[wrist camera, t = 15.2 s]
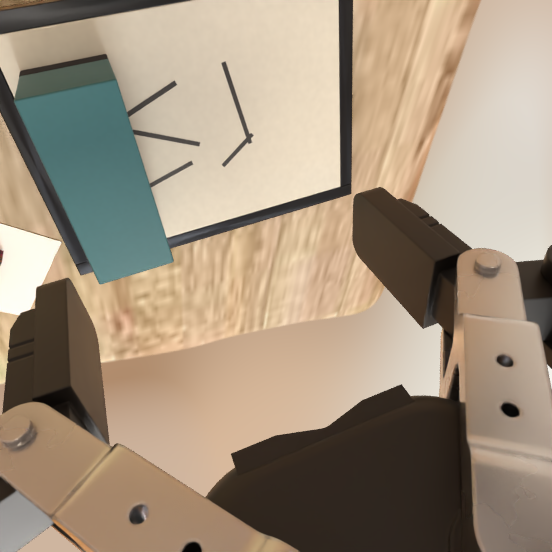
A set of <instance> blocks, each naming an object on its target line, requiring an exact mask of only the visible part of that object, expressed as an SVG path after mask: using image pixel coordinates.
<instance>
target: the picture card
mask: <svg viewBox="0 0 552 552" xmlns="http://www.w3.org/2000/svg"><path fill="white" fill-rule="evenodd" d="M61 243H62V242H60V241H57V240H53V239H50V238H47V237H44V236H40V235H37V234H34V233H30V232H27V231H24V230H20V229H17V228H14V227H11V226H7V225H4V224H1V223H0V311H1V312H6V313H11V314H16V315H20V313H22V312H25V311H28V310H30V308H31V306H32V304H33V302H34V300H35V298H36V288H37V287H38V286H41V285H42V283H43V281H44V279H45V277H46V274H47V272H48V270H49V268H50V266H51V264H52V262H53V260H54V257H55V255H56V253H57V251H58V249H59V247H60V245H61Z"/></svg>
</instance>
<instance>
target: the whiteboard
mask: <svg viewBox="0 0 552 552" xmlns="http://www.w3.org/2000/svg"><path fill="white" fill-rule="evenodd" d="M352 42H353V0H43V1H37V2H31V3H25V4H19V5H13V6H7V7H1V8H0V113H1V115H2V117H3V119H4V121H5V123H6V125H7V127H8V129H9V131H10V133H11V135H12V137H13V139H14V141H15V143H16V145H17V147H18V149H19V151H20V153H21V156H22V158H23V160H24V162H25V164H26V166H27V168H28V170H29V172H30V174H31V176H32V178H33V180H34V182H35V184H36V186H37V188H38V190H39V192H40V194H41V196H42V198H43V200H44V202H45V204H46V206H47V208H48V210H49V212H50V214H51V216H52V218H53V220H54V222H55V224H56V226H57V228H58V231H59V233H60V235H61V237H62V239H63V241H64V243H65V245H66V247H67V249H68V251H69V253H70V255H71V257H72V259H73V261H74V263H75V264H76V267H77V269H78V271H79V273H80V275H84V274H87V273H91V272H93V269H92V267H91V265H90V263H89V261H88V259H87V257H86V254H85V252H84V250H83V248H82V246H81V244H80V242H79V240H78V237H77V235H76V233H75V231H74V229H73V227H72V225H71V223H70V220H69V218H68V216H67V214H66V212H65V210H64V208H63V205H62V203H61V201H60V199H59V197H58V195H57V193H56V191H55V188H54V186H53V184H52V182H51V180H50V178H49V176H48V174H47V171H46V169H45V167H44V165H43V163H42V161H41V159H40V156H39V154H38V152H37V150H36V148H35V146H34V144H33V142H32V139H31V137H30V135H29V133H28V131H27V129H26V127H25V125H24V122H23V120H22V118H21V116H20V114H19V112H18V110H17V107H16V105H15V103H14V98H15V94H16V89H17V85H18V80H19V74H20V71H22V70H27V69H32V68H37V67H42V66H47V65H52V64H57V63H62V62H67V61H72V60H77V59H82V58H87V57H92V56H97V55H102V54H106V55H107V57H108V59H109V62H110V64H111V67H112V69H113V72H114V74H115V77H116V79H117V82H118V85H119V88H120V91H121V95H122V98H123V101H124V104H125V107H126V110H127V114H128V117H129V120H130V123H131V126H132V129H133V133H134V136H135V139H136V142H137V145H138V149H139V152H140V155H141V158H142V161H143V164H144V168H145V171H146V174H147V177H148V180H149V183H150V187H151V190H152V193H153V196H154V199H155V203H156V206H157V209H158V212H159V215H160V218H161V222H162V225H163V228H164V231H165V234H166V237H167V241H168V244H169V247H170V248H174V247H177V246H180V245H184V244H187V243H190V242H194V241H197V240H200V239H204V238H207V237H210V236H213V235H217V234H220V233H223V232H227V231H230V230H233V229H237V228H240V227H243V226H247V225H250V224H253V223H257V222H260V221H263V220H267V219H270V218H273V217H276V216H280V215H283V214H286V213H290V212H293V211H296V210H300V209H303V208H306V207H310V206H313V205H316V204H320V203H323V202H326V201H330V200H333V199H336V198H339V197H343V196H346V195H349V194H351V170H352Z"/></svg>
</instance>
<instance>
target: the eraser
mask: <svg viewBox="0 0 552 552" xmlns="http://www.w3.org/2000/svg"><path fill="white" fill-rule="evenodd" d="M14 103H15V105H16V107H17V110H18V112H19V114H20V116H21V118H22V120H23V122H24V125H25V127H26V129H27V131H28V133H29V135H30V137H31V139H32V142H33V144H34V146H35V148H36V150H37V152H38V154H39V156H40V159H41V161H42V163H43V165H44V167H45V169H46V171H47V174H48V176H49V178H50V180H51V182H52V184H53V186H54V188H55V191H56V193H57V195H58V197H59V199H60V201H61V203H62V205H63V208H64V210H65V212H66V214H67V216H68V218H69V220H70V223H71V225H72V227H73V229H74V231H75V233H76V235H77V237H78V240H79V242H80V244H81V246H82V248H83V250H84V252H85V254H86V257H87V259H88V261H89V263H90V265H91V267H92V269H93V272H94V274H95V276H96V278H97V280H98V282H99V284H104V283H107V282H110V281H113V280H117V279H120V278H123V277H126V276H130V275H133V274H136V273H139V272H143V271H146V270H149V269H152V268H156V267H159V266H162V265H165V264H169V263H172V262H173V261H174V260H173V257H172V253H171V250H170V247H169V244H168V241H167V237H166V234H165V231H164V228H163V225H162V222H161V218H160V215H159V212H158V209H157V206H156V203H155V199H154V196H153V193H152V190H151V187H150V183H149V180H148V177H147V174H146V171H145V168H144V164H143V161H142V158H141V155H140V152H139V149H138V145H137V142H136V139H135V136H134V133H133V129H132V126H131V123H130V120H129V117H128V114H127V110H126V107H125V104H124V101H123V98H122V95H121V91H120V88H119V85H118V82H117V79H116V77H115V74H114V72H113V69H112V67H111V64H110V62H109V59H108V57H107V55H106V54H102V55H97V56H92V57H87V58H82V59H77V60H72V61H67V62H62V63H57V64H52V65H47V66H42V67H37V68H32V69H27V70H22V71H20V74H19V80H18V85H17V89H16V94H15V98H14Z"/></svg>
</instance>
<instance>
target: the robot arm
mask: <svg viewBox="0 0 552 552" xmlns="http://www.w3.org/2000/svg"><path fill="white" fill-rule="evenodd" d="M353 245H354V248H355V251H356V253H357V255H358V256H359V258H360V259H361V260H362V261H363V262H364V263H365V264H366V265H367V267H368V268H369V269H370V270H371V271H372V272H373V273H374V274H375V276H376V277H377V278H378V279H379V280H380V281H381V282H382V283H383V285H384V286H385V287H386V288H387V289H388V290H389V291H390V292H391V293H392V295H393V296H394V297H395V298H396V299H397V300H398V301H399V302H400V304H402V306H403V307H404V308H405V309H406V310H407V311H408V312H409V314H410V315H411V316H412V317H413V318H414V319H415V320H416V322H417V323H418V324H419V325H420V326H421V327H422V328H423V329H424V328H426V327H429V326H431V325H434V324H436V323H439V324H440V325H441V326H442V332H441V352H440V391H439V397H435V396H410V395H409V394H408V392H407V391H406V390H405V388H404V387H403V386H402V385H399V386H396V387H394V388H391V389H389V390H387V391H384V392H382V393H379V394H377V395H374V396H372V397H369V398H367V399H364V400H362V401H361V402H360V403H358V404H357V405H356V406H354V407H353V408H352V409H350V410H349V411H348V412H346V413H345V414H344V415H342V416H341V417H340V418H338V419H337V420H336V421H335V422H333V423H332V424H331V425H329V426H328V427H326V428H322V429H317V430H310V431H303V432H296V433H290V434H283V435H277V436H274V437H271V438H269V439H266V440H264V441H262V442H259V443H256V444H254V445H251V446H249V447H247V448H244V449H242V450H239V451H237V452H235V453H232V454H231V455H232V459H233V462H234V465H235V468H234V469H232V470H231V471H230V472H228V473H227V474H226V475H225V476H224V477H223V478H222V479H221V480H219V482H217V483H216V485H215V486H214V487H213V488H212V489H211V491H210V492H209V493H208V495H207V496H206V498H205V497H204V496H202V495H200V494H199V493H197V492H196V491H194V490H193V489H191V488H190V487H188V486H186V485H185V484H183V483H182V482H180V481H179V480H177V479H175V478H174V477H172V476H171V475H169V474H167V473H166V472H165V471H163V470H162V469H160V468H158V467H157V466H155V465H154V464H152V463H151V462H149V461H147V460H146V459H144V458H143V457H141V456H140V455H138V454H137V453H135V452H134V451H132V450H130V449H129V448H127V447H125V446H123V445H121V444H115V445H114V446H113V447H112V446H110V445H109V435H108V426H107V418H106V408H105V398H104V389H103V381H102V371H101V362H100V353H99V344H98V338H97V334H96V331H95V328H94V325H93V323H92V320H91V318H90V316H89V314H88V312H87V310H86V308H85V307H84V305H83V303H82V301H81V299H80V297H79V295H78V293H77V291H76V289H75V287H74V285H73V283H72V282H71V280H70V279H69V278H65V279H62V280H58V281H55V282H51V283H48V284H45V285H41V286H38V287H37V288H36V302H35V309H31V310H28V311H25V312H22V313H20V315H19V317H18V318H17V320H16V322H15V323H14V325H13V327H12V328H11V330H10V340H9V348H10V349H9V350H8V362H9V363H7V371H6V382H5V392H4V402H3V413H2V415H1V416H0V552H17V551H18V550H20V549H21V548H22V547H24V546H25V545H26V544H28V543H29V542H30V541H31V540H33V539H34V538H35V537H37V536H38V535H40V534H41V533H42V532H44V531H45V530H46V529H48V528H49V527H50V526H52V527H53V528H54V529H55V530H57V531H58V532H59V533H60V534H61V535H63V536H64V537H65V538H66V539H67V540H68V541H70V542H71V543H72V544H73V545H74V546H75V547H77V548H78V549H79V550H80V551H81V552H552V389H551V383H550V378H549V374H548V368H547V365H548V366H550V368H551V369H552V245H551V246H550V247H549V248H548V250H547V253H546V255H545V258H544V260H536V261H524V262H515V261H514V260H513V259H512V258H510V257H509V256H508V255H506V254H504V253H502V252H499V251H496V250H492V249H486V248H477V249H472V248H471V247H469V246H468V245H467V244H465V243H464V242H463V241H462V240H461V239H459V238H458V237H457V236H455V235H454V234H453V233H452V232H450V231H449V230H448V229H447V228H446V227H444V226H443V225H442V224H439V222H438V221H437V220H436V219H434V218H433V217H432V216H431V217H430V216H429V214H428V213H427V212H426V211H424V210H423V209H422V208H421V207H419V206H418V205H416V204H414V203H411V202H409V201H406V200H403V199H398V200H397V199H396V198H395V197H393V196H392V195H391V194H390V193H389V192H387V191H386V190H385V189H384V188H382V187H379V188H375V189H372V190H368V191H365V192H362V193H358V194H356V195H355V197H354V201H353Z"/></svg>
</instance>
